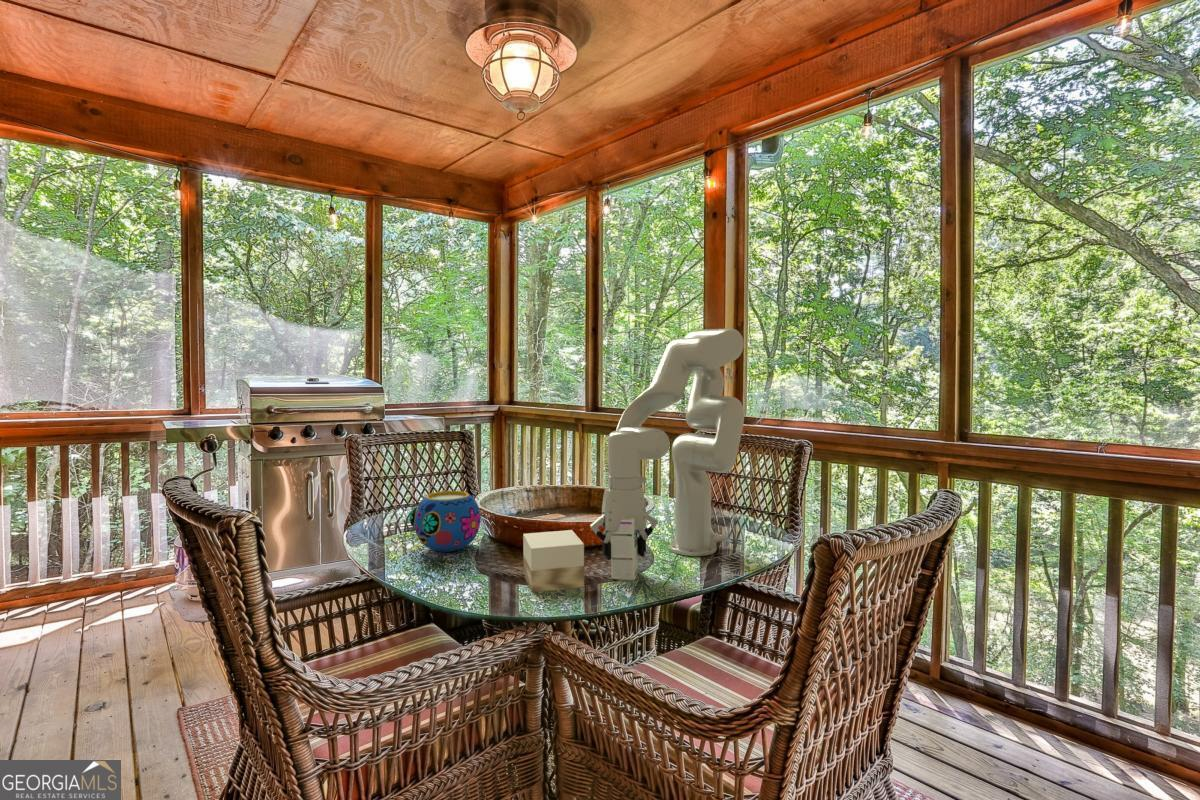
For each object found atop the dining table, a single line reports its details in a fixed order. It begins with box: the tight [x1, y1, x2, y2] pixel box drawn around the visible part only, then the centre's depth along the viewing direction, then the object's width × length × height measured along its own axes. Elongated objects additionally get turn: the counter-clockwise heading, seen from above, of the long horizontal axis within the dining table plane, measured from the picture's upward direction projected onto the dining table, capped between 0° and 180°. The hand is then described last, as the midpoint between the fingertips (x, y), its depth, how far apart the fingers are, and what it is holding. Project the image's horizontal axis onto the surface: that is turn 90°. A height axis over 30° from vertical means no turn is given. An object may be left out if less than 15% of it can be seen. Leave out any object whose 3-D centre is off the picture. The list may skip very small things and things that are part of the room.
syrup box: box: [609, 518, 639, 581], centre depth 140 cm, size 6×6×14 cm
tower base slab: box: [522, 554, 585, 593], centre depth 138 cm, size 12×12×5 cm
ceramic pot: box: [408, 490, 482, 553], centre depth 162 cm, size 18×18×15 cm
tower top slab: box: [522, 529, 585, 571], centre depth 138 cm, size 12×12×5 cm
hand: (624, 556), depth 141 cm, fingers closed on syrup box, 7 cm apart
